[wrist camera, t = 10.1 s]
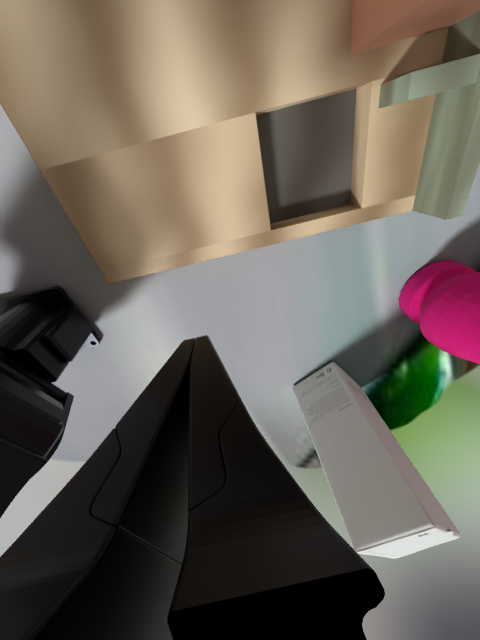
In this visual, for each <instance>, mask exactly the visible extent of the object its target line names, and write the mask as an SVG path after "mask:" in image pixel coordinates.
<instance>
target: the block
mask: <svg viewBox="0 0 480 640" xmlns="http://www.w3.org/2000/svg"><path fill="white" fill-rule="evenodd" d="M479 10H480V0H353V9H352V35H351V54H355V53H359V52H362V51H366V50H369V49H373V48H376V47H380V46H383V45H387V44H390V43H394V42H397V41H401V40H405V39H408V38H412V37H415V36H419V35H422V34H426V33H429V32H433V31H436V30H440V29H444V28H447V27H450V26H452V25H453V24H455V23H457V22H459V21H461V20H463V19H465V18H466V17H468V16H470V15H472V14H474V13H476V12H477V11H479Z"/></svg>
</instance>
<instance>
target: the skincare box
mask: <svg viewBox="0 0 480 640" xmlns="http://www.w3.org/2000/svg"><path fill="white" fill-rule="evenodd" d="M293 391H294V394H295V396H296V399H297V401H298V404H299V407H300V409H301V412H302V415H303V417H304V420H305V422H306V425H307V428H308V430H309V433H310V436H311V438H312V441H313V443H314V446H315V449H316V451H317V454H318V457H319V459H320V462H321V465H322V467H323V470H324V472H325V475H326V478H327V480H328V483H329V486H330V488H331V491H332V494H333V496H334V499H335V501H336V504H337V507H338V509H339V512H340V514H341V517H342V519H343V522H344V525H345V528H346V531H347V533H348V536H349V538H350V541H351V544H352V547H353V549H354V550H355V551H356V553H360V554H367V555H374V556H382V557H388V558H393V559H395V558H399V557H402V556H406V555H409V554H412V553H414V552H417V551H420V550H423V549H426V548H429V547H432V546H435V545H438V544H441V543H445V542H448V541H451V540H454V539H457V538H459V537H460V536H461V535H460V533H459V532H458V530H457V528H456V527H455V525H454V524H453V522H452V521H451V519H450V518H449V516H448V515H447V514H446V512H445V511H444V509H443V508H442V506H441V505H440V503H439V502H438V500H437V499H436V498H435V496H434V495H433V493H432V492H431V490H430V489H429V487H428V486H427V484H426V483H425V481H424V480H423V478H422V477H421V475H420V474H419V472H418V471H417V469H416V468H415V467H414V465H413V464H412V462H411V461H410V459H409V458H408V456H407V455H406V453H405V452H404V450H403V449H402V448H401V446H400V444H399V443H398V442H397V440H396V438H395V437H394V435H393V434H392V433H391V431H390V430H389V428H388V427H387V425H386V424H385V422H384V421H383V419H382V418H381V416H380V415H379V413H378V412H377V411H376V409H375V408H374V406H373V405H372V403H371V402H370V400H369V399H368V397H367V396H366V394H365V393H364V391H363V389H362V388H361V387H360V386H359V385H358V384H357V383H356V382H355V381H354V380H353V379H352V378H351V377H350V376H349V375H348V374H347V373H346V372H345V371H343V370H342V369H341V368H340V367H339V366H338V365H337V364H336V363H335V362H331V363H329V364H328V365H326V366H324V367H323V368H321V369H320V370H318V371H316V372H315V373H313V374H312V375H310V376H309V377H307V378H306V379H304V380H303V381H301V382H300V383H298V384H297V385H295V386H294V387H293Z"/></svg>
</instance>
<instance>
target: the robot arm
mask: <svg viewBox="0 0 480 640" xmlns="http://www.w3.org/2000/svg"><path fill="white" fill-rule="evenodd" d="M55 291H56V292H58V293H59V294H57V293H55ZM93 341H95V342H93ZM99 344H100V339H99V337H98V336H97V335H96V333H95V332H94V331H93V329H92V328H91V326H90V325H89V324H88V322H87V321H86V320H85V318H84V317H83V315H82V314H81V313H80V311H79V310H78V309H77V307H76V306H75V305H74V303H73V302H72V301H71V299H70V298H69V297H68V295H67V294H66V293H65V291H64V290H63V289H62V288H60V287H58V286H54V287H50V288H46V289H42V290H38V291H34V292H30V293H25V294H21V295H17V296H13V297H9V298H5V299H1V300H0V518H1V516H2V515H3V513H4V512H5V510H6V509H7V507H8V506H9V505H10V503H11V502H12V501H13V499H14V498H15V496H16V495H17V494H18V493H19V491H20V490H21V489H22V488H23V487H24V485H25V484H26V483H27V482H28V481H29V479H30V478H31V477H33V476H34V475H35V474H36V473H37V472H38V471H39V470H40V469H41V468H42V467H43V466H44V465H45V464H46V463H47V462H48V460H49V459H50V458H51V457H52V455H53V454H54V452H55V451H56V449H57V448H58V446H59V444H60V442H61V440H62V437H63V434H64V430H65V427H66V423H67V419H68V416H69V412H70V409H71V405H72V401H73V398H74V396H73V395H71V394H70V393H68V392H67V393H66V392H64V391H63V390H61V389H60V388H58V387H57V386H55V385H54V384H52V383H51V382H55V381H57V379H58V378H59V376H60V375H61V374H62V372H63V371H64V369H65V368H66V366H67V365H68V363H69V362H71V361H72V360H73V359H74V357H75V356H76V355H77V353H78V352H79V351H80V350H85V349H89V348H93V347H97V346H98V345H99ZM384 595H385V592H384V588H383V586H382V585H381V583H380V581H379V579H378V577H377V575H376V573H375V572H374V570H373V569H372V568H371V567H370V566H369V565H368V564H367V563H366V562H365V561H364V560H363V559H362V558H361V557H360V556H359V555H358V554H357V553H356V551H355V550H354V549H353V548H352V547H350V545H349V544H348V543H347V542H346V541H345V540H344V539H343V538H342V537H341V536H340V535H339V534H338V533H337V532H336V531H335V530H334V528H333V527H332V526H331V525H330V524H329V523H328V522H327V521H326V519H325V518H324V517H323V516H322V515H321V514H320V512H319V511H318V510H317V509H316V507H315V506H314V505H313V504H312V502H311V501H310V500H309V499H308V497H307V496H306V495H305V493H304V492H303V491H302V489H301V488H300V487H299V485H298V484H297V483H296V481H295V480H294V479H293V477H292V476H291V474H290V473H289V472H288V471H287V469H286V468H285V466H284V465H283V464H282V462H281V461H280V459H279V458H278V457H277V455H276V454H275V453H274V451H273V450H272V449H271V447H270V446H269V445H268V443H267V442H266V440H265V439H264V437H263V436H262V434H261V433H260V431H259V430H258V428H257V427H256V425H255V423H254V422H253V420H252V418H251V417H250V415H249V413H248V411H247V409H246V407H245V405H244V404H243V402H242V400H241V398H240V396H239V394H238V392H237V390H236V388H235V387H234V385H233V383H232V381H231V379H230V377H229V375H228V373H227V371H226V369H225V367H224V365H223V364H222V362H221V360H220V358H219V356H218V354H217V352H216V350H215V348H214V346H213V344H212V343H211V341H210V339H209V337H208V336H207V335H206V336H201V337H197V338H196V339H195V338H192V339H188V340H184V341H183V342H182V343H181V344H180V345H179V347H178V348H177V349H176V351H175V352H174V353H173V354H172V356H171V357H170V358H169V359H168V361H167V362H166V363H165V364H164V366H163V367H162V368H161V369H160V371H159V372H158V373H157V374H156V376H155V377H154V378H153V379H152V381H151V382H150V383H149V385H148V386H147V387H146V388H145V390H144V391H143V392H142V393H141V395H140V396H139V397H138V398H137V400H136V401H135V402H134V403H133V405H132V406H131V407H130V408H129V410H128V411H127V412H126V414H125V415H124V416H123V417H122V419H121V420H120V421H119V422H118V424H117V425H116V428H114V429H113V430H112V431H111V432H110V434H109V435H108V436H107V437H106V439H105V440H104V441H103V442H102V444H101V445H100V446H99V447H98V448H97V450H96V451H95V452H94V453H93V454H92V456H91V457H90V458H89V459H88V461H87V462H86V463H85V464H84V465H83V466H82V467H81V469H80V470H79V471H78V472H77V473H76V474H75V476H73V478H72V479H71V480H70V481H69V482H68V483H67V484H66V486H65V487H64V488H63V489H62V490H61V491H60V492H59V493H58V494H57V496H56V497H55V498H54V499H53V500H52V501H51V502H50V503H49V504H48V505H47V507H46V508H45V509H44V510H43V511H42V512H41V513H40V514H39V515H38V517H37V518H36V519H35V520H34V521H33V522H32V523H31V524H30V525H29V526H28V528H27V529H26V530H25V531H24V532H23V533H22V534H21V535H20V537H19V538H18V539H17V540H16V541H15V542H14V543H13V544H12V545H11V546H10V547H9V548H8V550H7V551H6V552H5V553H4V554H3V555H2V556H1V557H0V640H366V637H365V635H364V632H363V628H362V622H363V617H364V616H365V614H366V613H367V612H368V611H369V610H371V609H373V608H375V607H377V605H378V604H379V603H380V602H381V601H382V600H383V598H384Z"/></svg>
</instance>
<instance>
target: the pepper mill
mask: <svg viewBox="0 0 480 640" xmlns="http://www.w3.org/2000/svg"><path fill="white" fill-rule="evenodd" d="M399 306H400V308H401V310H402V312H403V313H404V314H406V315H407V316H408V317H409V318H410V319H412V320H413V321H414V322H416V323H418V324H420V329H421V332H422V334H423V336H424V337H425V338H426V339H427V340H428V341H429V342H431V343H432V344H433V345H435V346H436V347H438V348H439V349H441V350H443V351H445V352H447V353H449V354H451V355H454V356H456V357H459V358H463V359H466V360H469V361H472V362H475V363H478V364H480V272H476V271H475V270H473V269H472V268H470V267H467V266H465V265H463V264H461V263H458V262H456V261H452V260H443V261H438V262H434V263H432V264H430V265H428V266H426V267H424V268H422V269H421V270H419V271H418V272H417V273H416V274H414V275H413V276H412V277H411V278H410V279H409V280H408V282H407V283H406V284H405V285H404V287H403V289H402V291H401V293H400V297H399Z"/></svg>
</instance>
